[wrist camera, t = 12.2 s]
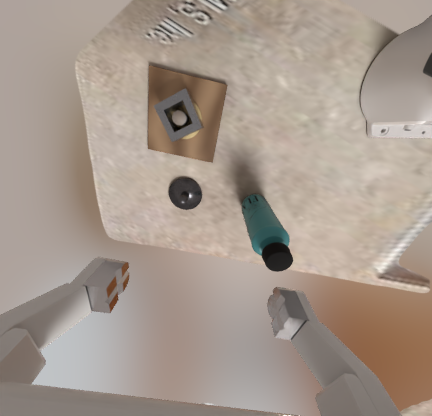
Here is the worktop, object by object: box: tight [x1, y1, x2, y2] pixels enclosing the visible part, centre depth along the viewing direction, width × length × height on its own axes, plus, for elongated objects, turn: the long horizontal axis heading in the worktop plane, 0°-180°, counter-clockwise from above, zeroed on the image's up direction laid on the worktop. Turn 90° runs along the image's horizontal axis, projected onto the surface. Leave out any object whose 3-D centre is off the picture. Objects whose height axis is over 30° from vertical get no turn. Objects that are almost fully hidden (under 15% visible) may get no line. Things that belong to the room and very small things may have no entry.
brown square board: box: [148, 65, 227, 162], centre depth 30 cm, size 14×14×6 cm
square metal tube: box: [154, 88, 204, 142], centre depth 28 cm, size 6×6×4 cm
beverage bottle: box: [241, 194, 293, 271], centre depth 31 cm, size 6×7×20 cm
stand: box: [169, 178, 202, 210], centre depth 37 cm, size 8×8×5 cm
